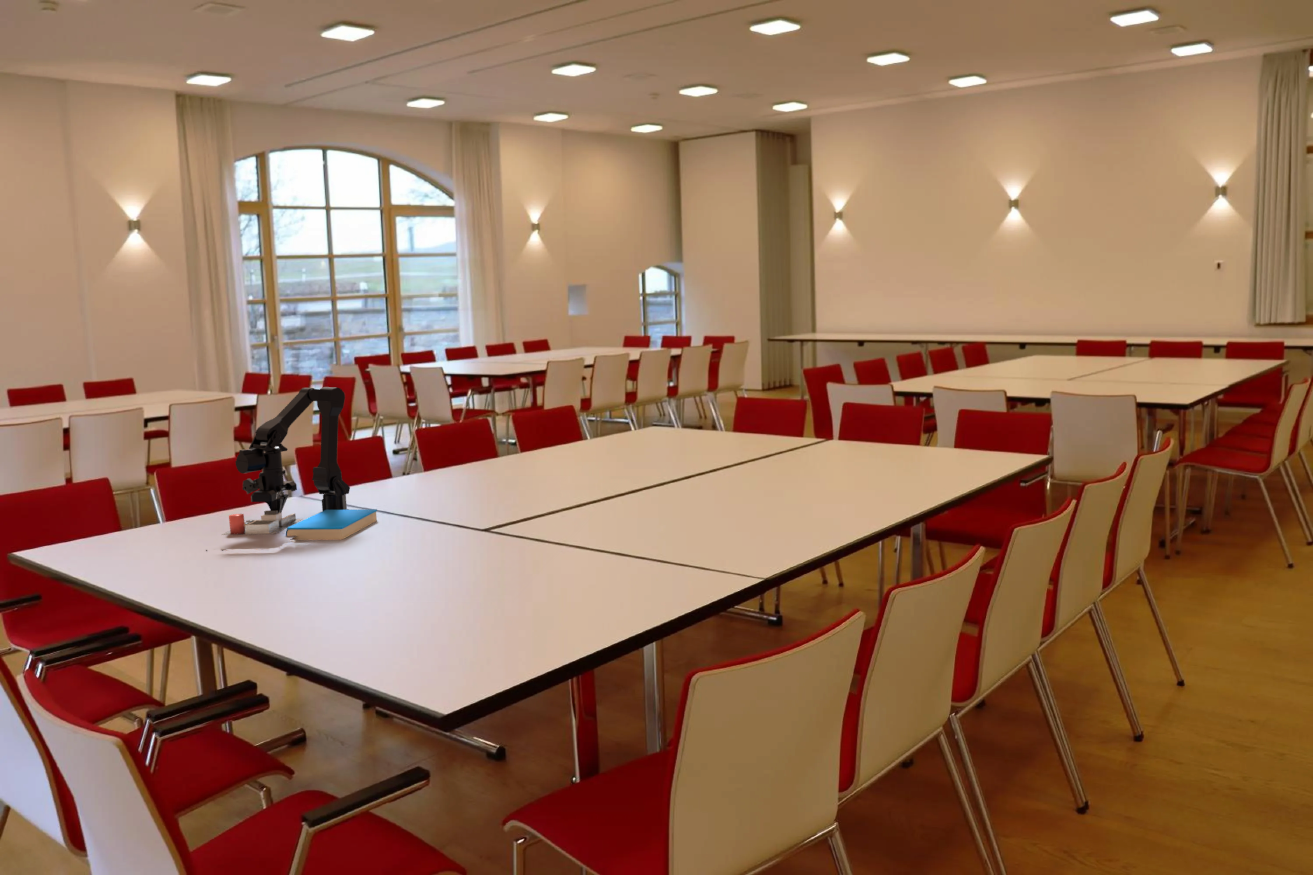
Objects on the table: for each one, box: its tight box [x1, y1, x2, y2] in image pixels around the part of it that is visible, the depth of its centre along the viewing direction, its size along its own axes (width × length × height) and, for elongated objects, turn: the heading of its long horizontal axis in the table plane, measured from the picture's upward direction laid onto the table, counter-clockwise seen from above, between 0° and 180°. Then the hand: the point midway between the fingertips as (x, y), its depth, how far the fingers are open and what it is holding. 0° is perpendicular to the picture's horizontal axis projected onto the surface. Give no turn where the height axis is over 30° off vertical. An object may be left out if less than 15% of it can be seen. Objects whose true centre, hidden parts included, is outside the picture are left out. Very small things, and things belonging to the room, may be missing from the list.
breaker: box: [260, 509, 283, 520], centre depth 317 cm, size 4×4×4 cm
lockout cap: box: [228, 513, 245, 534], centre depth 311 cm, size 4×4×5 cm
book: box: [285, 508, 378, 541], centre depth 315 cm, size 17×4×25 cm
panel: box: [221, 512, 303, 536], centre depth 317 cm, size 16×20×4 cm
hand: (276, 519), depth 321 cm, fingers closed
